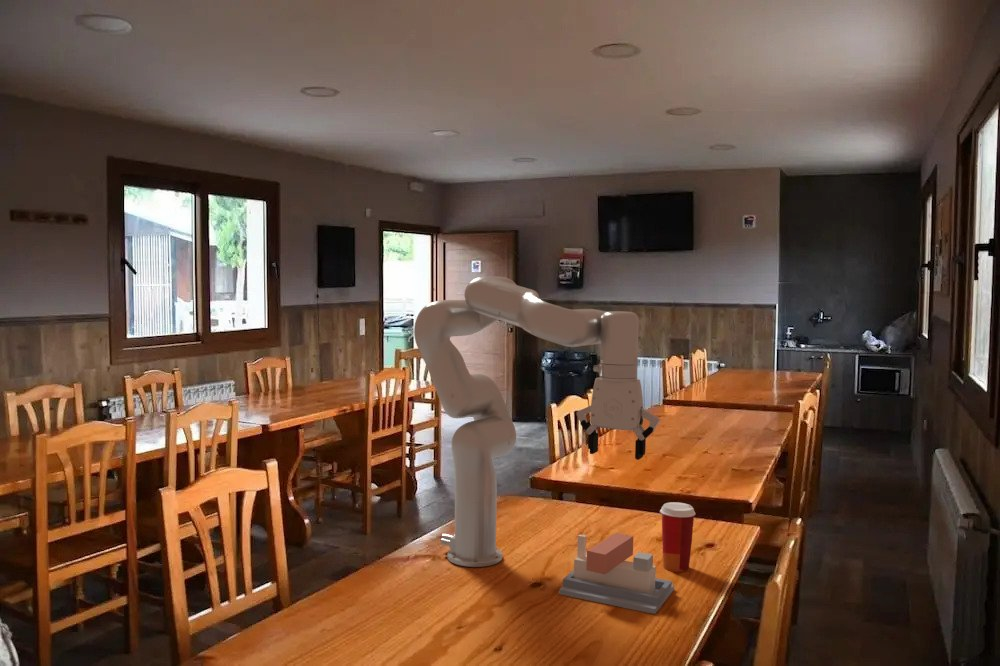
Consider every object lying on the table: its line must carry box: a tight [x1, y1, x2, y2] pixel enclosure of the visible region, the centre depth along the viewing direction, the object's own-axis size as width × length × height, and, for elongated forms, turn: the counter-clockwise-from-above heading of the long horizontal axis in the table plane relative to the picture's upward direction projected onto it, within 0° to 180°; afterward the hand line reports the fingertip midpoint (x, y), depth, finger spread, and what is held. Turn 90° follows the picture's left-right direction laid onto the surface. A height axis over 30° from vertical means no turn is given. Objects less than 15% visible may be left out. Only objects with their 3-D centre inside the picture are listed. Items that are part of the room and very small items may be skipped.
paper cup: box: [659, 501, 696, 573], centre depth 179 cm, size 8×8×14 cm
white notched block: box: [573, 534, 657, 594], centre depth 165 cm, size 16×4×10 cm, turn 63°
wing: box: [586, 532, 634, 574], centre depth 165 cm, size 14×4×4 cm, turn 147°
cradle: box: [558, 569, 675, 615], centre depth 165 cm, size 20×14×2 cm
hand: (616, 455), depth 163 cm, fingers open, 9 cm apart
